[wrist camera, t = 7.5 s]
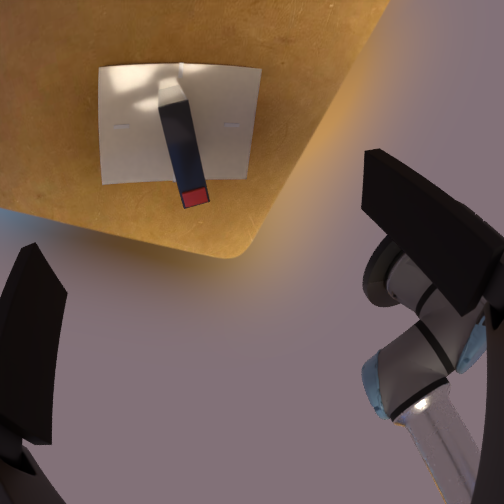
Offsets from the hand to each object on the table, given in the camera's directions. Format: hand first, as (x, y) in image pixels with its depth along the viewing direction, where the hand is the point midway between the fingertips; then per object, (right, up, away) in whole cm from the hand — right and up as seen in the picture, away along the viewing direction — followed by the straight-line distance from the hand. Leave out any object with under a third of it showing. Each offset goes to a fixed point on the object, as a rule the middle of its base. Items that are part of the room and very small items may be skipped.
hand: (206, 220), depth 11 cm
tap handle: (-5, +10, +14) cm, 17 cm away
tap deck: (-6, +12, +16) cm, 21 cm away
